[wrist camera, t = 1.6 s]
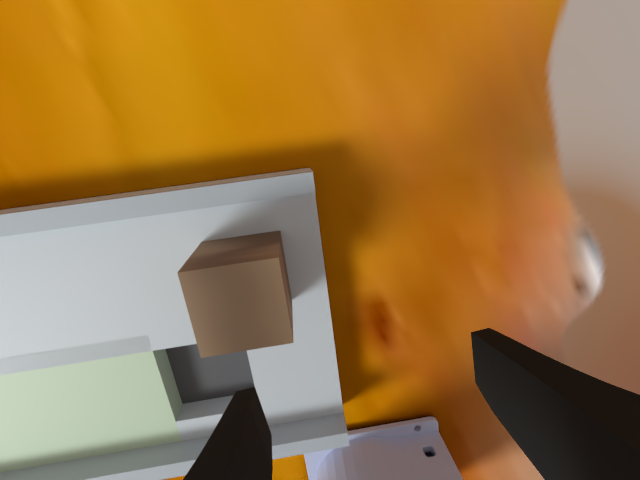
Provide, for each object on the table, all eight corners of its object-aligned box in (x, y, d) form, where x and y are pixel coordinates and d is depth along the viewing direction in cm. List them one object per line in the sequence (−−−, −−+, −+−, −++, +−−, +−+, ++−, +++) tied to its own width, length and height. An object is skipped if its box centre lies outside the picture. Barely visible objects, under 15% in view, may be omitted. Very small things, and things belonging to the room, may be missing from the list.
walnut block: (280, 230, 17) (278, 257, 14) (292, 299, 19) (293, 342, 15) (201, 241, 17) (177, 272, 13) (218, 311, 18) (200, 357, 15)
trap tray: (310, 167, 18) (314, 174, 15) (341, 405, 23) (349, 445, 20) (-169, 232, 17) (-265, 254, 14) (-28, 469, 22) (-76, 522, 19)
